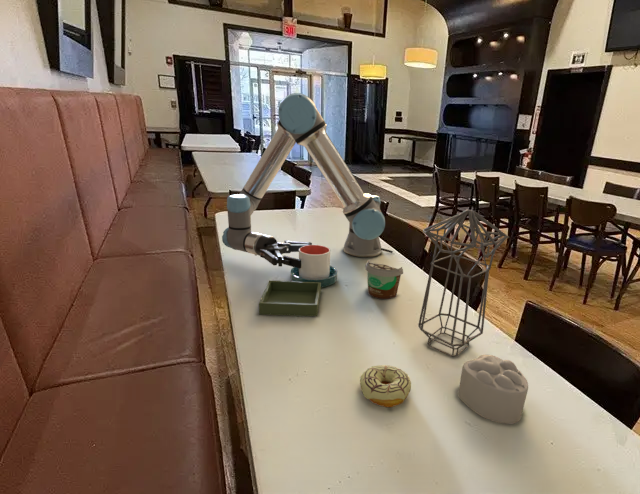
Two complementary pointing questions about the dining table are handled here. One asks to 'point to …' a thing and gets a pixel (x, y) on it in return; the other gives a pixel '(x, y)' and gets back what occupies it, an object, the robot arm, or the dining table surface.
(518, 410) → the lumpy-topped squat cylinder
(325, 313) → the dining table surface
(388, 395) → the decorated donut
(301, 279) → the dish
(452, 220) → the geometric lantern
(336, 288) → the dining table surface
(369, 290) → the food container
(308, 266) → the cup
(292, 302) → the tray
